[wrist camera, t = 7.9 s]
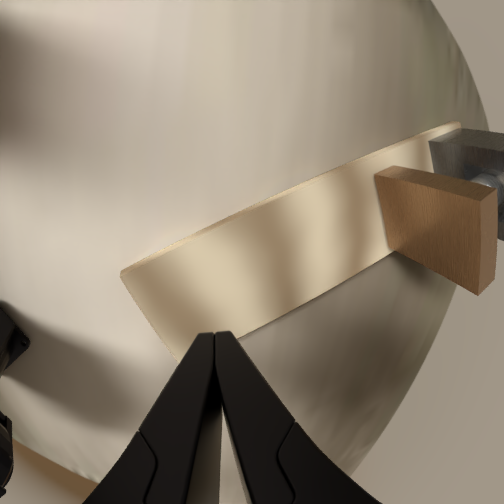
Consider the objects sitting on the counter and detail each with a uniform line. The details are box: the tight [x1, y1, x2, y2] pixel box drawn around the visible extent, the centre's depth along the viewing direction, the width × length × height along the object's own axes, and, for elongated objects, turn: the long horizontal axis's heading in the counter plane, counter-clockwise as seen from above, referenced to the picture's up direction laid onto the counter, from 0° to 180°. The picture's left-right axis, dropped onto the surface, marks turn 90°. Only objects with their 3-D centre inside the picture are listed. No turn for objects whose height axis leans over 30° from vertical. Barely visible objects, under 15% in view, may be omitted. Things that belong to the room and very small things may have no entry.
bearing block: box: [428, 128, 504, 241], centre depth 19 cm, size 5×7×9 cm
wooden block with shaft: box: [374, 165, 504, 296], centre depth 18 cm, size 12×6×9 cm, turn 112°
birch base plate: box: [120, 122, 461, 363], centre depth 22 cm, size 30×8×1 cm, turn 112°
